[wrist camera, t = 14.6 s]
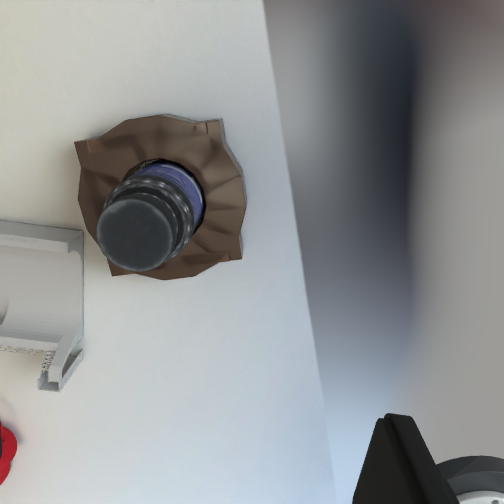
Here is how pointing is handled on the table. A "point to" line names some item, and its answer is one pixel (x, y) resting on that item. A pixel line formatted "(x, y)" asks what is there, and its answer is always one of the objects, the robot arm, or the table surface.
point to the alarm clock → (7, 452)
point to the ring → (188, 155)
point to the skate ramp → (42, 296)
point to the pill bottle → (150, 216)
